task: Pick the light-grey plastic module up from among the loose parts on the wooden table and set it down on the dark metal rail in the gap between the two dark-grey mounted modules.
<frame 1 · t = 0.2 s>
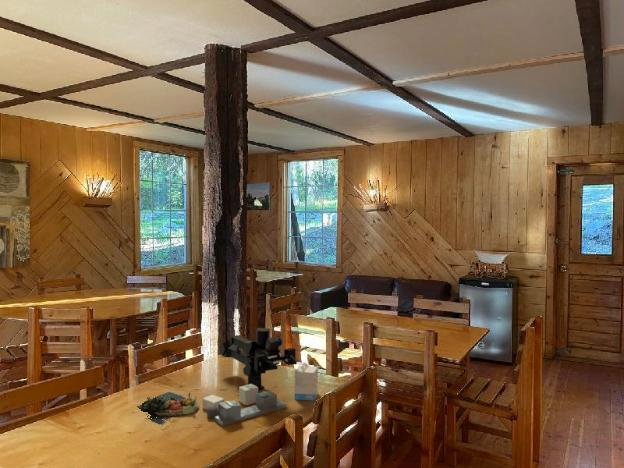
hand: (286, 365, 180), 16 cm above the table, tool horizontal, fingers open, 9 cm apart
rail: (251, 413, 173), on the table
loose module: (248, 401, 185), on the table
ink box: (306, 397, 191), on the table
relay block: (213, 408, 178), on the table
black knob: (212, 416, 171), on the table
plated dish: (169, 410, 178), on the table
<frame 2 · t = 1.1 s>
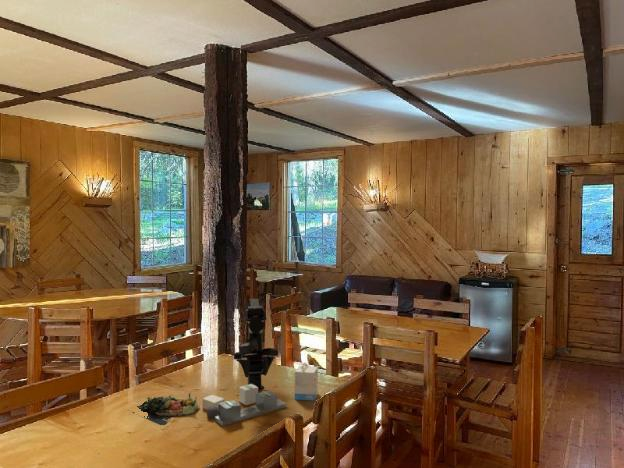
hand: (255, 376, 182), 11 cm above the table, tool tilted 25°, fingers open, 9 cm apart
nothing on the table moved.
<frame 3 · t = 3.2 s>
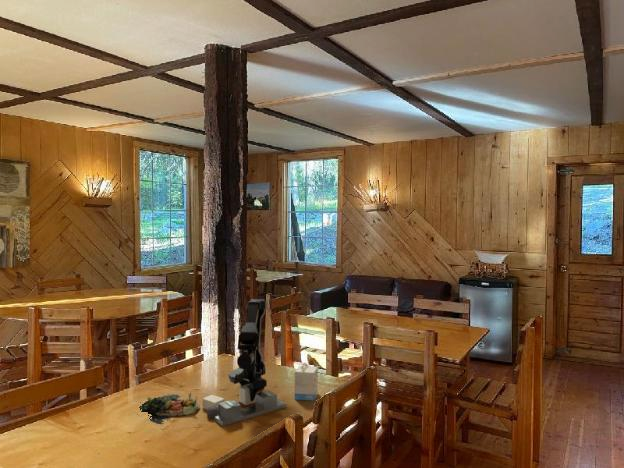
hand: (248, 398, 185), 1 cm above the table, tool pointing down, fingers closed on loose module, 5 cm apart
loose module: (248, 401, 185), on the table, touching gripper
everything else where it was.
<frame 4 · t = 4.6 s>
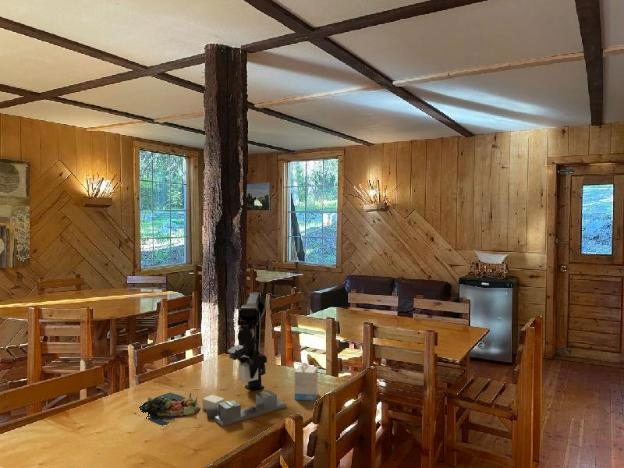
hand: (248, 376, 182), 11 cm above the table, tool pointing down, fingers closed on loose module, 5 cm apart
loose module: (248, 379, 182), point 10 cm above the table, touching gripper
everything else where it was.
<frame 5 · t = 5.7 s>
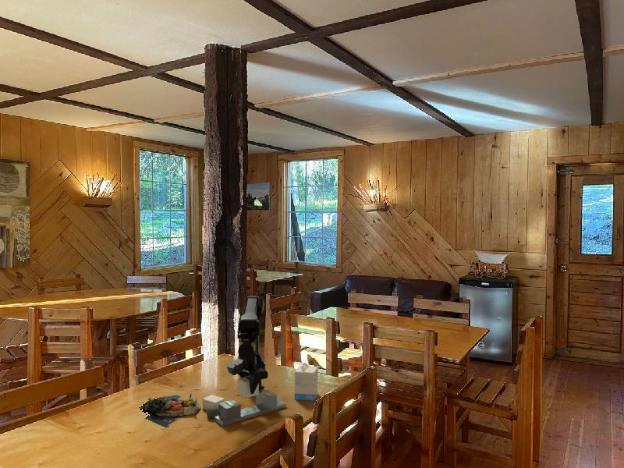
hand: (248, 391, 172), 9 cm above the table, tool pointing down, fingers closed on loose module, 5 cm apart
loose module: (248, 394, 172), point 8 cm above the table, touching gripper
everything else where it was.
when the fingers open (4 cm above the table, at t = 6.8 s): loose module drops 2 cm, resting on rail.
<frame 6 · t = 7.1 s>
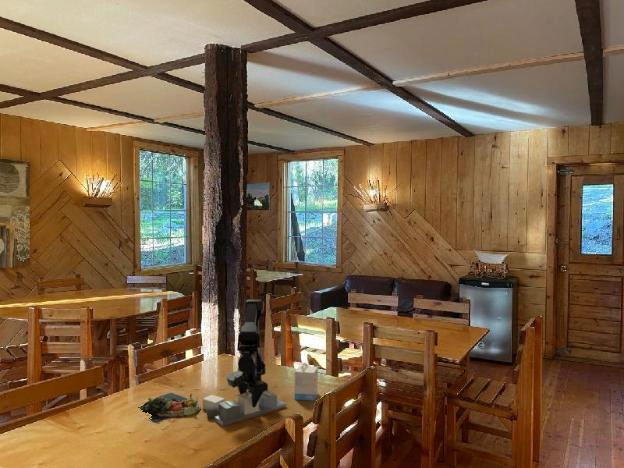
hand: (248, 403, 172), 4 cm above the table, tool pointing down, fingers open, 8 cm apart
loose module: (248, 410, 172), point 1 cm above the table, touching rail
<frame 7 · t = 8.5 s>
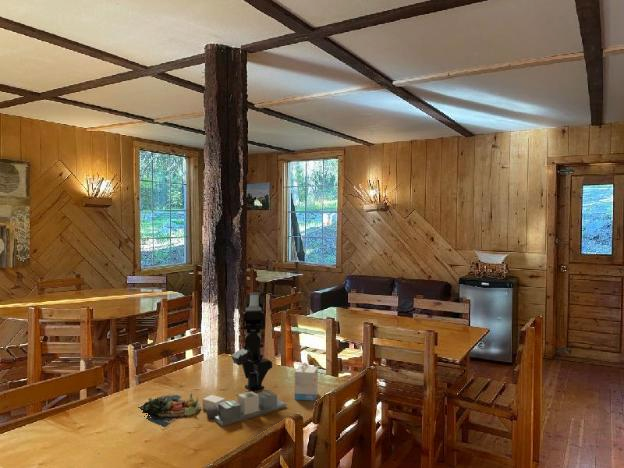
hand: (253, 381, 175), 12 cm above the table, tool pointing down, fingers open, 9 cm apart
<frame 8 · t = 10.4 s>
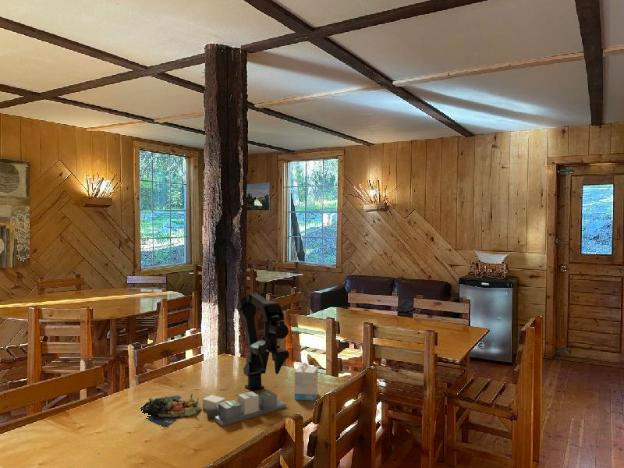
hand: (270, 371, 186), 12 cm above the table, tool pointing down, fingers open, 9 cm apart
at the end: loose module inside the target area on the rail (0.1 cm from its centre), point 1.5 cm above the rail's base; loose module tilted 0°; the gripper is holding nothing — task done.
